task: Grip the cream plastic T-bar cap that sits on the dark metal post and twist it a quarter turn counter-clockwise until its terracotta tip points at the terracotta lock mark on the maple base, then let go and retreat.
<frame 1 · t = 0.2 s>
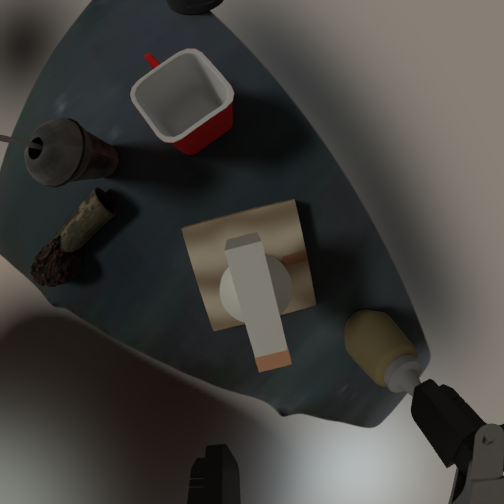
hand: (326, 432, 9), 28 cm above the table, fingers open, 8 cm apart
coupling: (257, 299, 24), point 12 cm above the table, hinge at 0.0°
post block: (251, 264, 37), on the table
beverage cup: (105, 161, 33), on the table
squeeze bottle: (360, 325, 40), on the table
mug: (188, 110, 32), on the table
morel mushroom: (78, 243, 35), on the table
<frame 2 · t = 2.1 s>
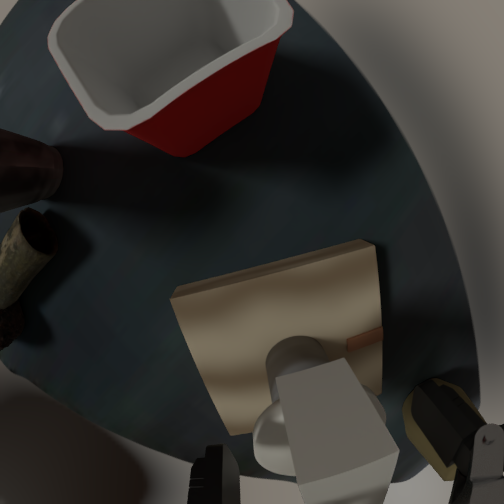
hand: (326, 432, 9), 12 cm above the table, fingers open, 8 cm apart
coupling: (332, 471, 9), point 12 cm above the table, hinge at 0.0°
post block: (289, 343, 21), on the table
beverage cup: (45, 172, 17), on the table
squeeze bottle: (420, 395, 25), on the table
mug: (179, 77, 17), on the table
morel mushroom: (18, 289, 19), on the table
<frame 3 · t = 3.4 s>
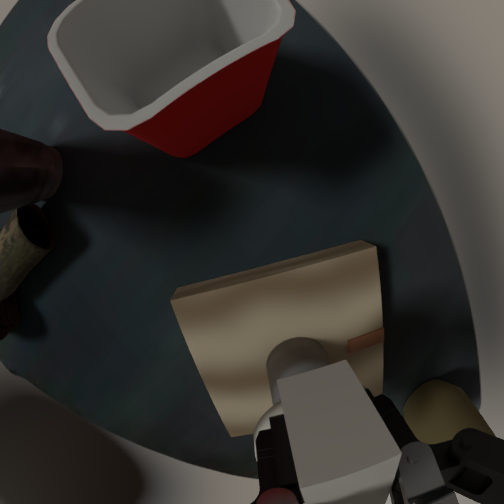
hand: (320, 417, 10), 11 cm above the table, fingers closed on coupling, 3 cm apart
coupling: (333, 473, 9), point 12 cm above the table, hinge at 0.0°, touching gripper
post block: (290, 345, 21), on the table
beverage cup: (45, 173, 17), on the table
squeeze bottle: (421, 396, 24), on the table
mug: (179, 77, 17), on the table
morel mushroom: (14, 282, 19), on the table
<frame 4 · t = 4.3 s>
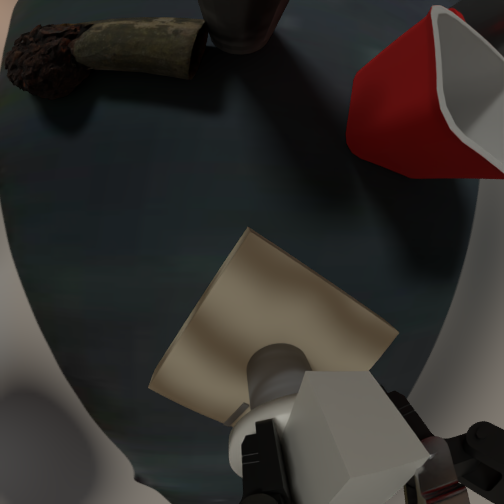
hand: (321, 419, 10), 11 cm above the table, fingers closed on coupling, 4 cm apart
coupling: (308, 484, 9), point 12 cm above the table, hinge at 24.2°, touching gripper
post block: (272, 351, 21), on the table
beverage cup: (239, 33, 16), on the table
mug: (392, 104, 18), on the table
morel mushroom: (97, 66, 16), on the table
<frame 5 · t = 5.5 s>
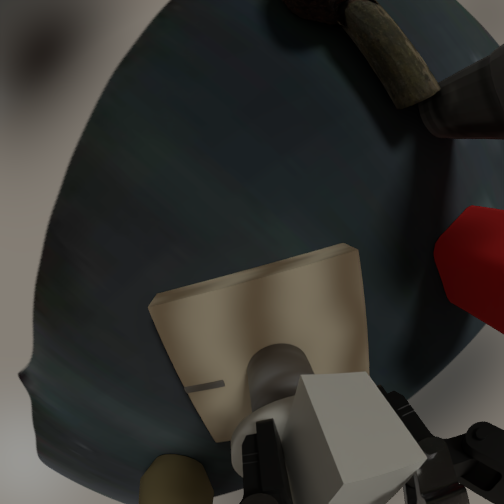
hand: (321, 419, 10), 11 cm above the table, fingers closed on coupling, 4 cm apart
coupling: (311, 484, 9), point 12 cm above the table, hinge at 68.5°, touching gripper
post block: (272, 350, 21), on the table
beverage cup: (435, 114, 18), on the table
squeeze bottle: (179, 464, 24), on the table
mug: (472, 242, 21), on the table
morel mushroom: (335, 25, 16), on the table
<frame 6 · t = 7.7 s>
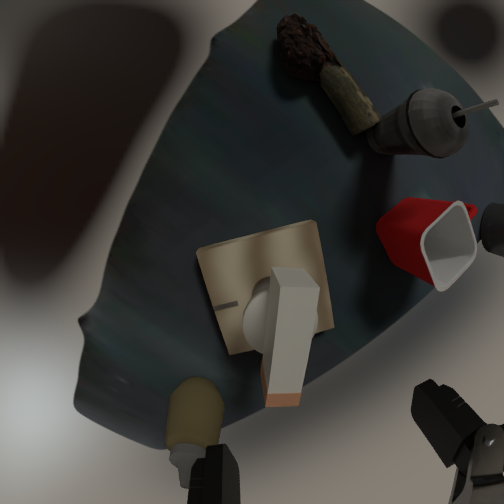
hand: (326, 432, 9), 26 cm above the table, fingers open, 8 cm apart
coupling: (284, 335, 23), point 12 cm above the table, hinge at 72.1°
post block: (268, 286, 35), on the table
beverage cup: (380, 138, 32), on the table
squeeze bottle: (199, 389, 38), on the table
mug: (411, 223, 34), on the table
morel mushroom: (316, 78, 30), on the table
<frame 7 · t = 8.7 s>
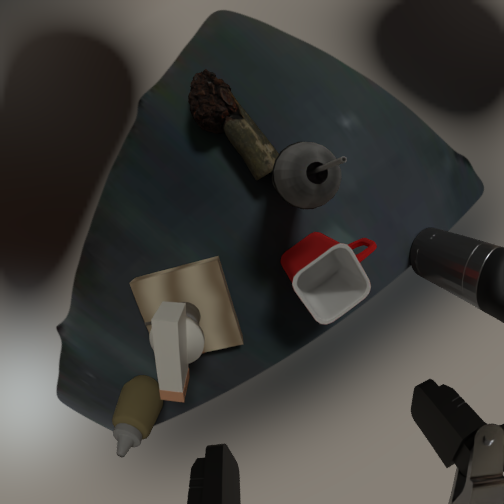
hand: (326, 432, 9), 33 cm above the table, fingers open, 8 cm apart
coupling: (173, 350, 30), point 12 cm above the table, hinge at 72.1°
post block: (188, 308, 42), on the table
beverage cup: (286, 179, 39), on the table
squeeze bottle: (147, 385, 46), on the table
mug: (320, 255, 42), on the table
morel mushroom: (229, 127, 37), on the table
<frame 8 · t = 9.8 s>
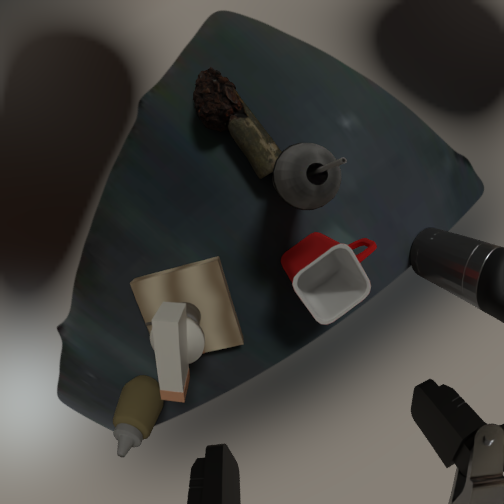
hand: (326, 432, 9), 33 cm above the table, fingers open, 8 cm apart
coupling: (173, 350, 30), point 12 cm above the table, hinge at 72.1°
post block: (189, 308, 43), on the table
beverage cup: (287, 180, 39), on the table
squeeze bottle: (147, 385, 46), on the table
mug: (320, 255, 42), on the table
morel mushroom: (233, 125, 37), on the table
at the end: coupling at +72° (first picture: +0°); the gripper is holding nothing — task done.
